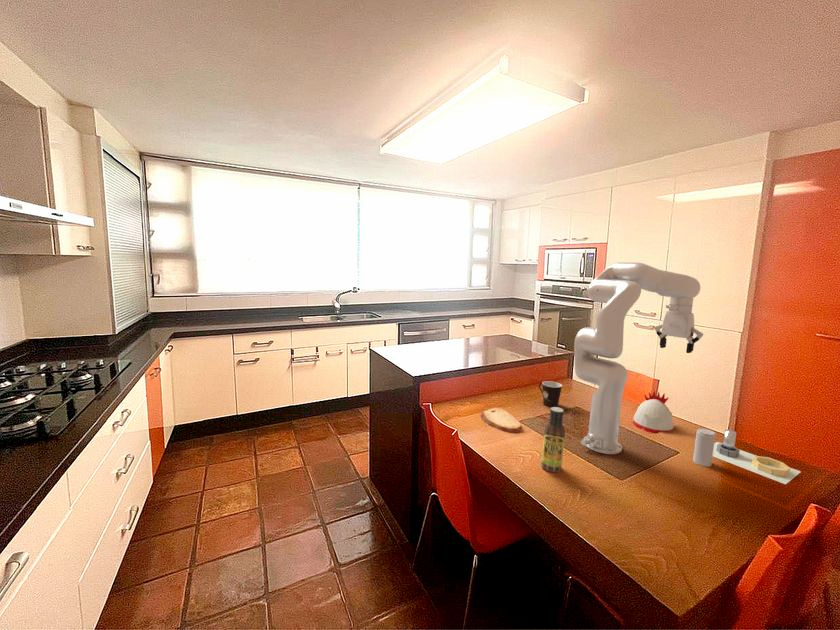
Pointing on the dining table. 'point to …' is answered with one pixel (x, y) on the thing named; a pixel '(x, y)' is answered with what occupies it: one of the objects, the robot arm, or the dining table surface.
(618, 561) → the dining table surface
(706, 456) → the beverage can
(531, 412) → the dining table surface
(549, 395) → the coffee mug
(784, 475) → the socket board
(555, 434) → the sauce bottle
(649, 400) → the white and red dome
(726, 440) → the grey peg
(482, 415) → the bread slice
